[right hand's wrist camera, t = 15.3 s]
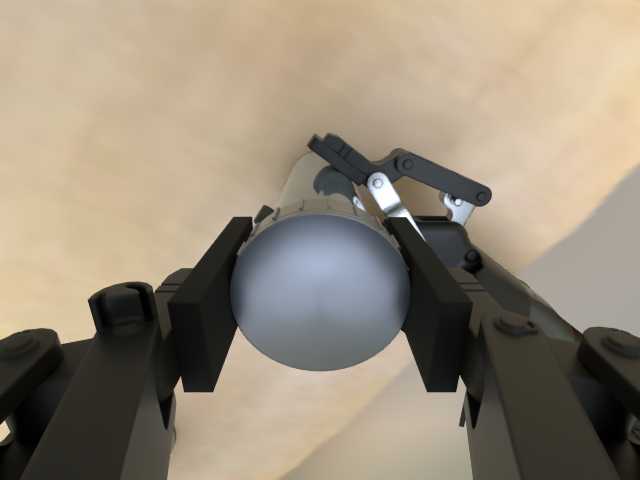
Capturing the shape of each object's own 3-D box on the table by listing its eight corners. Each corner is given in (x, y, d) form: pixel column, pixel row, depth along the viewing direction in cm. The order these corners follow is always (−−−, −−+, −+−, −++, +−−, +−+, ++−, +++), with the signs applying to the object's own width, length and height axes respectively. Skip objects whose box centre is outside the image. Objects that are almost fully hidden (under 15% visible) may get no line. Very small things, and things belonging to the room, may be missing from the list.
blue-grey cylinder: (295, 144, 26) (256, 206, 10) (356, 157, 26) (413, 236, 10) (285, 204, 28) (238, 337, 12) (342, 215, 28) (373, 359, 12)
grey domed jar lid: (283, 362, 13) (278, 394, 12) (206, 238, 11) (189, 257, 10) (423, 311, 12) (437, 338, 11) (366, 167, 10) (373, 176, 9)
